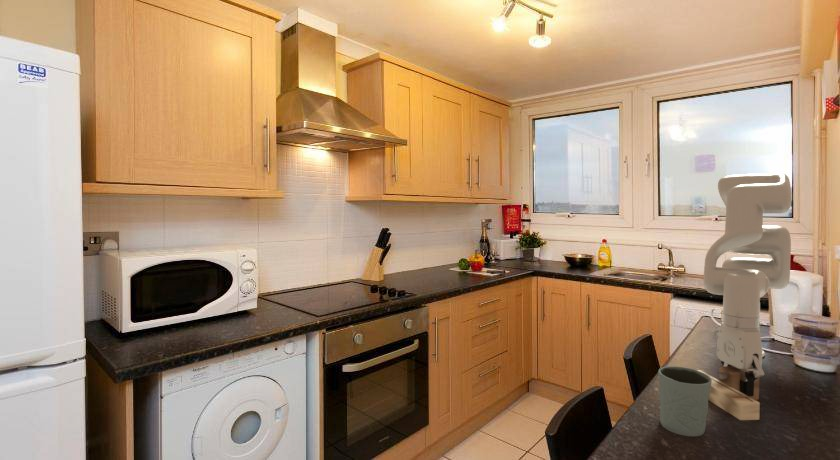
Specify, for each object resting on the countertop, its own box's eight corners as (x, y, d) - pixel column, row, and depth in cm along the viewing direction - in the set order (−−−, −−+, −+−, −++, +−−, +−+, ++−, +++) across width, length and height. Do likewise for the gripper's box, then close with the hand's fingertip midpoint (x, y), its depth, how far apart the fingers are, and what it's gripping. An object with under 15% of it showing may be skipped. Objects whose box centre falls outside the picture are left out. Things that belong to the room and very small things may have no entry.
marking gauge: (713, 392, 115) (714, 366, 114) (750, 391, 115) (751, 365, 115) (726, 400, 110) (726, 373, 110) (764, 399, 111) (765, 372, 110)
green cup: (662, 412, 105) (663, 362, 104) (713, 425, 98) (714, 372, 98) (653, 429, 97) (653, 376, 96) (707, 444, 90) (708, 387, 90)
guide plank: (683, 384, 120) (684, 370, 120) (699, 384, 120) (700, 369, 120) (740, 420, 100) (740, 402, 100) (759, 419, 100) (759, 402, 100)
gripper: (703, 313, 120) (702, 379, 121) (752, 331, 103) (750, 407, 104) (730, 313, 120) (728, 378, 121) (783, 330, 103) (781, 406, 104)
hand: (738, 390), depth 113 cm, fingers closed on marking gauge, 4 cm apart
